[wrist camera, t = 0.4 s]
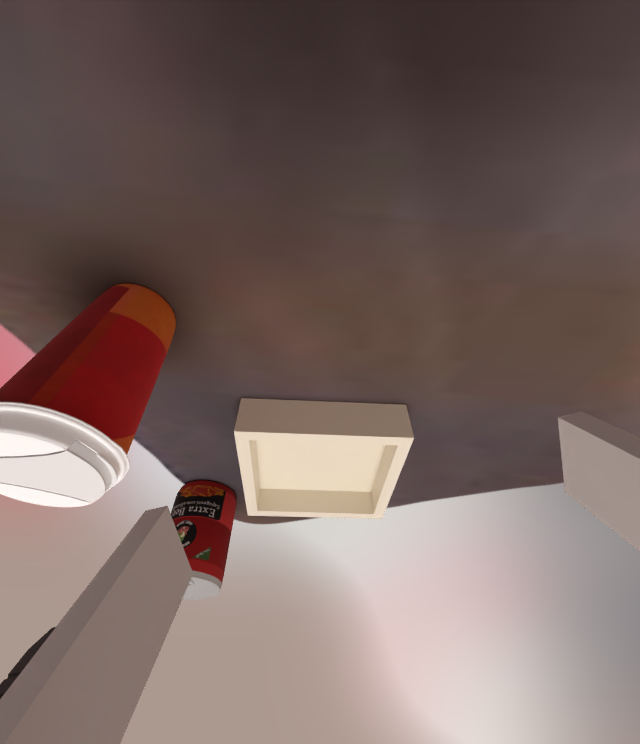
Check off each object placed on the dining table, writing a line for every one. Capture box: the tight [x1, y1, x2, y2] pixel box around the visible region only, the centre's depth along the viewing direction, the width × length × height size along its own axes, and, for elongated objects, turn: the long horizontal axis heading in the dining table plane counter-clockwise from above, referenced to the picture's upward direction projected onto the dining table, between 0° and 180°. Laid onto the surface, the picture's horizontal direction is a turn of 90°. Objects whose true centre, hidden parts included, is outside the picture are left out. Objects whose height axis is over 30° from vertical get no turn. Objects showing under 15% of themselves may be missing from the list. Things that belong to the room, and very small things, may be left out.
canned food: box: [171, 480, 236, 599], centre depth 43 cm, size 8×8×11 cm
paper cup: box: [0, 283, 176, 507], centre depth 22 cm, size 8×8×14 cm
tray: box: [234, 398, 414, 519], centre depth 38 cm, size 16×16×4 cm
